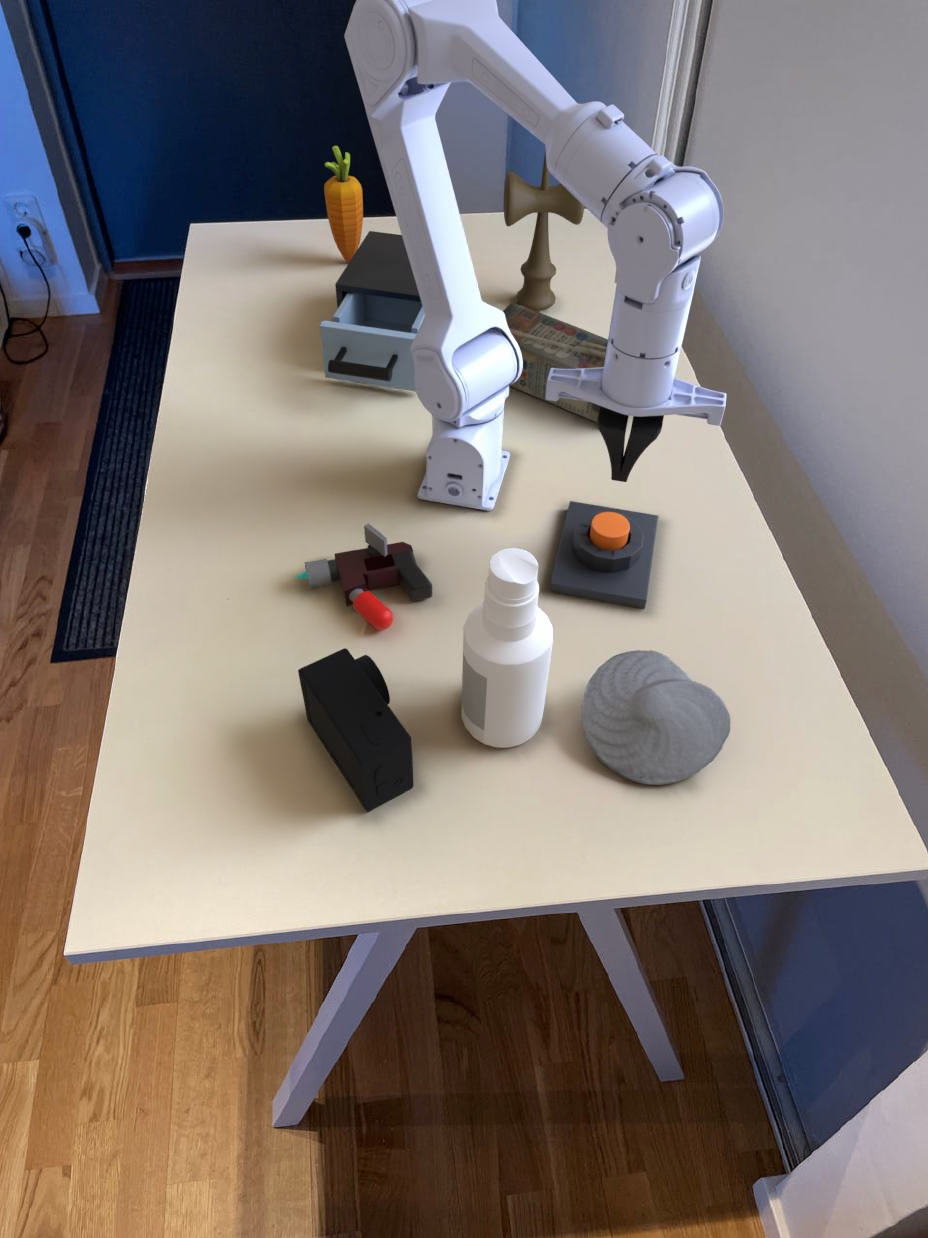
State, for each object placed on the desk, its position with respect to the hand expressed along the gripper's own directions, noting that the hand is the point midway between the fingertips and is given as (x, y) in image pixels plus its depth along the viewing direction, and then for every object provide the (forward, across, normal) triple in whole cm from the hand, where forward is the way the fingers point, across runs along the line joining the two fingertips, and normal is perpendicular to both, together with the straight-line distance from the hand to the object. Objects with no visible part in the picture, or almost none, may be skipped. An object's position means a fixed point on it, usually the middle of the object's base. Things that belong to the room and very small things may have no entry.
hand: (620, 474), depth 82 cm
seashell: (+11, -6, +20) cm, 23 cm away
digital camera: (+11, +16, +27) cm, 33 cm away
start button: (+8, 0, 0) cm, 8 cm away
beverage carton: (+11, +9, -27) cm, 30 cm away
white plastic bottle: (+11, +6, +21) cm, 24 cm away
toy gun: (+11, +21, +11) cm, 26 cm away
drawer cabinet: (+10, +30, -35) cm, 47 cm away
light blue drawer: (+10, +30, -25) cm, 40 cm away
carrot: (+11, +42, -49) cm, 65 cm away
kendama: (+11, +15, -45) cm, 49 cm away
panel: (+10, 0, 0) cm, 10 cm away
